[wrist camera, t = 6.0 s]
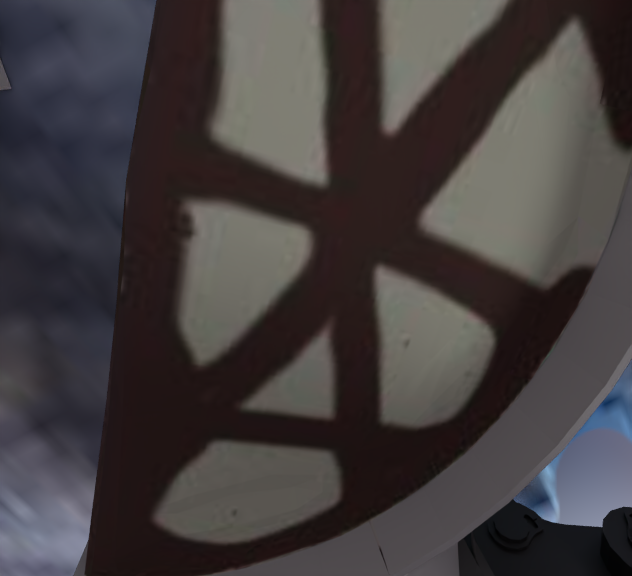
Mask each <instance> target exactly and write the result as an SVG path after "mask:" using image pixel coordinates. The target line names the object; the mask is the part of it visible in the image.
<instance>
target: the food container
mask: <svg viewBox="0 0 632 576" xmlns="http://www.w3.org/2000/svg"><path fill="white" fill-rule="evenodd" d="M631 359H632V0H157V1H156V7H155V13H154V19H153V24H152V30H151V36H150V42H149V48H148V54H147V60H146V65H145V71H144V77H143V83H142V89H141V95H140V101H139V107H138V113H137V119H136V125H135V131H134V137H133V143H132V149H131V155H130V161H129V167H128V173H127V179H126V190H125V202H124V214H123V227H122V239H121V251H120V264H119V277H118V290H117V304H116V314H115V324H114V333H113V343H112V353H111V362H110V372H109V382H108V391H107V400H106V408H105V416H104V423H103V431H102V439H101V447H100V454H99V462H98V470H97V477H96V485H95V493H94V500H93V508H92V516H91V525H90V533H89V540H88V542H87V545H86V547H85V549H84V552H83V554H82V556H81V559H80V561H79V564H78V566H77V568H76V571H75V573H74V575H73V576H404V575H406V574H408V573H409V572H411V571H413V570H414V569H416V568H418V567H419V566H421V565H422V564H424V563H426V562H427V561H429V560H431V559H432V558H434V557H436V556H437V555H439V554H440V553H442V552H444V551H445V550H447V549H449V548H450V547H452V546H454V545H455V544H456V543H457V542H459V541H460V540H461V539H463V538H464V537H465V536H466V535H468V534H469V533H470V532H472V531H473V530H474V529H475V528H477V527H478V526H479V525H481V524H482V523H483V522H484V521H486V520H487V519H488V518H490V517H491V516H492V515H494V514H495V513H496V512H497V511H499V510H500V509H501V508H503V507H504V506H505V505H506V504H508V503H509V502H510V501H511V500H512V499H513V498H514V497H515V496H516V495H517V494H518V493H519V492H520V491H521V490H522V489H524V488H525V487H526V486H527V485H528V484H529V483H530V482H531V481H532V480H533V479H534V478H535V477H536V476H537V475H538V474H539V473H540V472H541V471H542V470H543V469H544V468H545V467H546V466H547V465H548V464H549V463H550V462H551V461H552V460H553V459H554V458H555V457H556V456H557V455H558V454H559V453H560V452H561V451H562V450H563V449H564V448H565V447H566V446H567V444H568V443H569V442H570V441H571V440H572V438H573V437H574V436H575V435H576V433H577V432H578V431H579V430H580V428H581V427H582V426H583V425H584V424H585V422H586V421H587V420H588V419H589V417H590V416H591V415H592V414H593V412H594V411H595V410H596V409H597V408H598V406H599V405H600V404H601V403H602V401H603V400H604V399H605V398H606V396H607V395H608V394H609V393H610V392H611V390H612V389H613V387H614V386H615V384H616V383H617V381H618V380H619V378H620V376H621V375H622V373H623V372H624V370H625V369H626V367H627V365H628V364H629V362H630V361H631Z"/></svg>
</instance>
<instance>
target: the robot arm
mask: <svg viewBox="0 0 632 576" xmlns="http://www.w3.org/2000/svg"><path fill="white" fill-rule="evenodd" d="M404 576H632V508H631V507H622V508H618V509H615V510H612V511H610V512H609V513H608V515H607V516H606V517H605V518H604V519H603V527H592V526H576V525H564V524H559V523H553V522H549V521H547V520H544V519H542V518H541V517H540V516H539V515H538V514H537V513H536V512H534V511H533V510H531V509H529V508H527V507H525V506H524V505H522V504H520V503H516V502H515V501H514V500H513V499H512V500H511V501H510V502H509V503H508V504H506V505H505V506H504V507H503V508H501V509H500V510H499V511H497V512H496V513H495V514H494V515H492V516H491V517H490V518H488V519H487V520H486V521H484V522H483V523H482V524H481V525H479V526H478V527H477V528H475V529H474V530H473V531H472V532H470V533H469V534H468V535H466V536H465V537H464V538H463V539H461V540H460V541H459V542H457V543H456V544H455V545H454V546H452V547H450V548H449V549H447V550H445V551H444V552H442V553H440V554H439V555H437V556H436V557H434V558H432V559H431V560H429V561H427V562H426V563H424V564H422V565H421V566H419V567H418V568H416V569H414V570H413V571H411V572H409V573H408V574H406V575H404Z"/></svg>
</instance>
